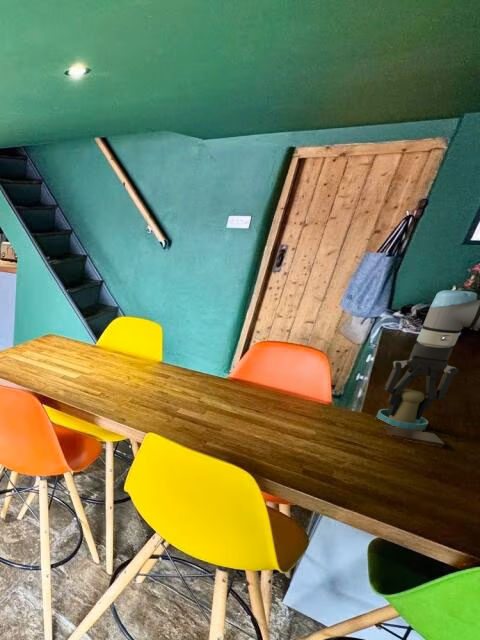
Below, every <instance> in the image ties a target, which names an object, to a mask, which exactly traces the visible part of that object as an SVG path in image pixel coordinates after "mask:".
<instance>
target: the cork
mask: <svg viewBox="0 0 480 640" xmlns="http://www.w3.org/2000/svg"><path fill="white" fill-rule="evenodd" d="M399 395H400V396H401V399H400V402H399V404H398V406H397V409H396V411H395V413H394V416H392V415H390V416H389V418H392V419H395V420H398V421H402V422H407V423H415V419H416V415H417V410H418V406H419V403H420V402H422V401H423V400H424V397H425V398H426V395H425V394H424V392H422V391H419V390H415V389H407V388H406V389H403V390H402V392H401V393H400V394H399Z"/></svg>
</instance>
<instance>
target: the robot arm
mask: <svg viewBox="0 0 480 640" xmlns="http://www.w3.org/2000/svg"><path fill="white" fill-rule="evenodd" d="M477 297H478V294H477V292H474V291H468V290H459V289H457V290H456V289H444V290H440V291H439V292H437V293H436V295H435V297H434V299H433V301H432V303H431V305H430V307H429V309H428V312H427V314H426V317H425V318H424V319H425V320H424V322H423V324H422V327H421V329H420V331H419V333H418V335H417V338H416V343H415V344H414V345H413V347H412V350H411V352H410V356H409V357H408V358H406V359H405V360H393V361H392V370H391V371H390V374H389V376H388V379H387V381H386V383H385V386H384V390H385V392H386V393H390V394H389V397H388V400H387V403H388V404H389V407H388V408H387V409H388V413H389V414H390V415H392V416H394V413H395V411H396V409H397V406H398V404H399V402H400V399H401V396H400V393H401V392H402V391H403V390H405V388H407V386H408V385H409V384H410V383H411V382H412V381H413V379H414V378H416V377H417V376H421V375H423V376H425V397H424V400H423V401H422V402H420V403H419V406H418V410H417V415H416V419H418V420H420V418H421V417H423V413H424V412H425V410H426V411H428V410H429V409H430V408H431V405H432V404H433V402H435V401H436V400H439V401H441V400H442V401H443V400H444V399H445V397H446V395H447V392H448V390H449V388H450V385H451V384H452V381H453V379H454V377H455V375H457V374H458V373H459V371H460V370H459V369H458V368H456V367H455V366H451V365H448V360H449V359H450V356H451V354H452V352H453V349H454V348H453V347H454V346H455V345H456V343H457V341H458V339H459V336H460V334H461V332H462V330H463V328H470V329H472V328H473V329H480V299H478V298H477ZM405 366H407V367H408V369H407V370H406V372H405V374H404V375H403V376H402V377H401V378H400V375H401V372H402V369H403V368H405ZM441 371H443V372H444V373H443V374H442V376H441V379H440V381H439V383H438V386H437V389H436V380H437V373H440V372H441ZM399 378H400V380H399ZM398 380H399V381H398Z"/></svg>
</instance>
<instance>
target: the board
mask: <svg viewBox="0 0 480 640" xmlns="http://www.w3.org/2000/svg"><path fill="white" fill-rule="evenodd" d="M383 427H385V428H386V429H387V430H388V432H389V433H390V435H391V436H392V437H398V438H401V439H407V440H412V441H418V442H425V443H429V444H436V445H437V444H438V445H443V446H444V447H445V443H444V441H443V440H442V439H441V438H439V436H438V435H436V433H433V432H428V431H424V432H422V431H416V430H410V429H404V428H398V427H392V426H386V425H383Z"/></svg>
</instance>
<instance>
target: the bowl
mask: <svg viewBox="0 0 480 640" xmlns="http://www.w3.org/2000/svg"><path fill="white" fill-rule="evenodd" d="M388 409H389V408H382V409H379V410H378V411H377V414H376V416H375V418H376V417H377V418H378V419H380V420H382V421H384V422H386V423H388V424H390V425H392V426H396V427H398V428H404V429H410V430H416V431H417V430H425V431H426V429H427V426H428V425H429V420H427V419H426V418H424V417H423V416H421V418H420V420H418V419H415V423H407V422H402V421H398V420H395V419H392V418H389V416H390V414H389V413H388Z"/></svg>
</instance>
